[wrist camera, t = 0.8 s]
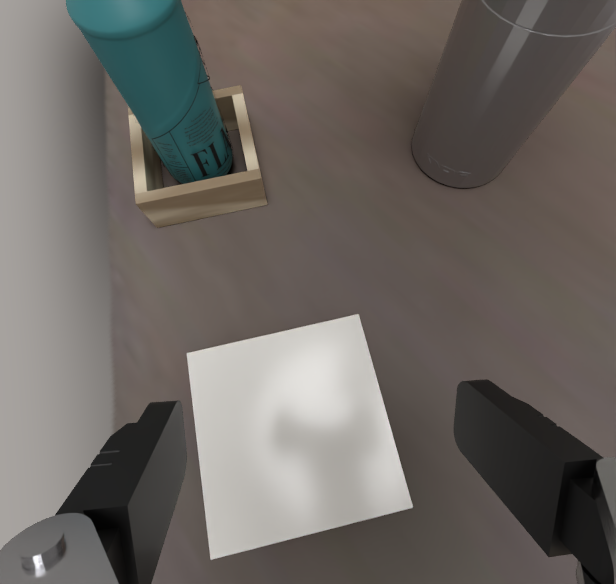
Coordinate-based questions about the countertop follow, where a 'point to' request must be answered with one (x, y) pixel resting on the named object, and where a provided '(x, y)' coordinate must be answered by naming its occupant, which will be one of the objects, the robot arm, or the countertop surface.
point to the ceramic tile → (292, 436)
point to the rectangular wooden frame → (206, 193)
